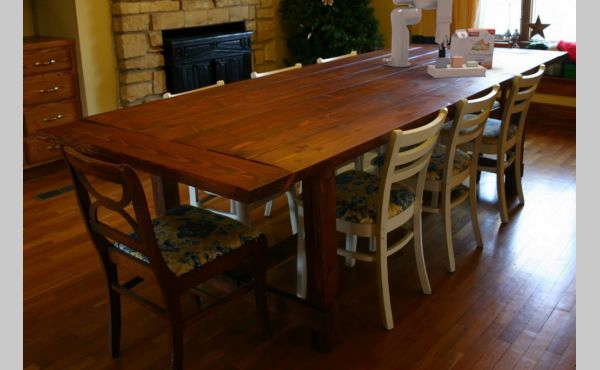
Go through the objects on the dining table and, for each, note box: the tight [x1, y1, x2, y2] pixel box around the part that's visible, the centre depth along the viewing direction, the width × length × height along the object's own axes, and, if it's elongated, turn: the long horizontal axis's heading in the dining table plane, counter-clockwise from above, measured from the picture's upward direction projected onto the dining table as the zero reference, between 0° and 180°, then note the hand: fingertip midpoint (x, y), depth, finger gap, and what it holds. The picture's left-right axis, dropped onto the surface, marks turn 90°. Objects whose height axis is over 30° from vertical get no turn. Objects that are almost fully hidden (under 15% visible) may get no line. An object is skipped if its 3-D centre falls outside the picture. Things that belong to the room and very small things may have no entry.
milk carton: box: [449, 28, 468, 64], centre depth 350 cm, size 7×7×19 cm
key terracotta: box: [449, 56, 463, 68], centre depth 319 cm, size 5×5×5 cm
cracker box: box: [465, 27, 496, 70], centre depth 335 cm, size 14×6×21 cm, turn 82°
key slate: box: [434, 56, 449, 68], centre depth 318 cm, size 5×5×5 cm
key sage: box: [466, 61, 478, 67], centre depth 320 cm, size 5×5×5 cm
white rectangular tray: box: [427, 64, 487, 79], centre depth 320 cm, size 26×14×4 cm, turn 94°
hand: (441, 57), depth 317 cm, fingers closed
